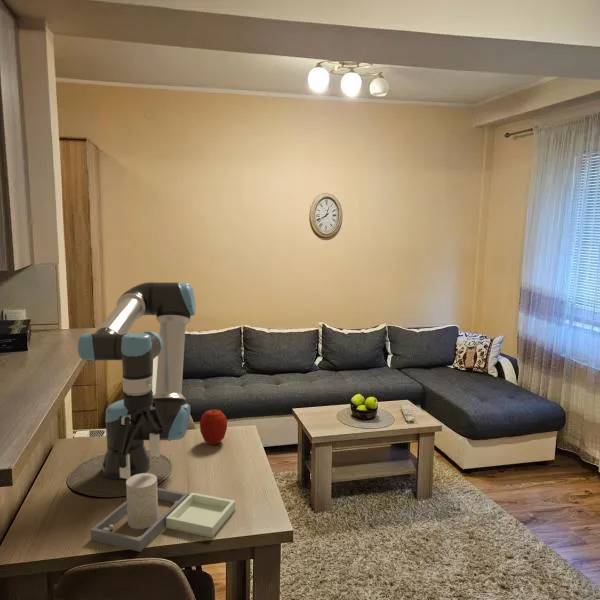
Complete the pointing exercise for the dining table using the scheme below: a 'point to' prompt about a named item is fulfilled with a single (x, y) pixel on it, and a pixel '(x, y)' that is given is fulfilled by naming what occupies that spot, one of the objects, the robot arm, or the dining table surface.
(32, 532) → the dining table surface
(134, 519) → the cup
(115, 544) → the gravel bin
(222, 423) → the apple
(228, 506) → the sage tray
